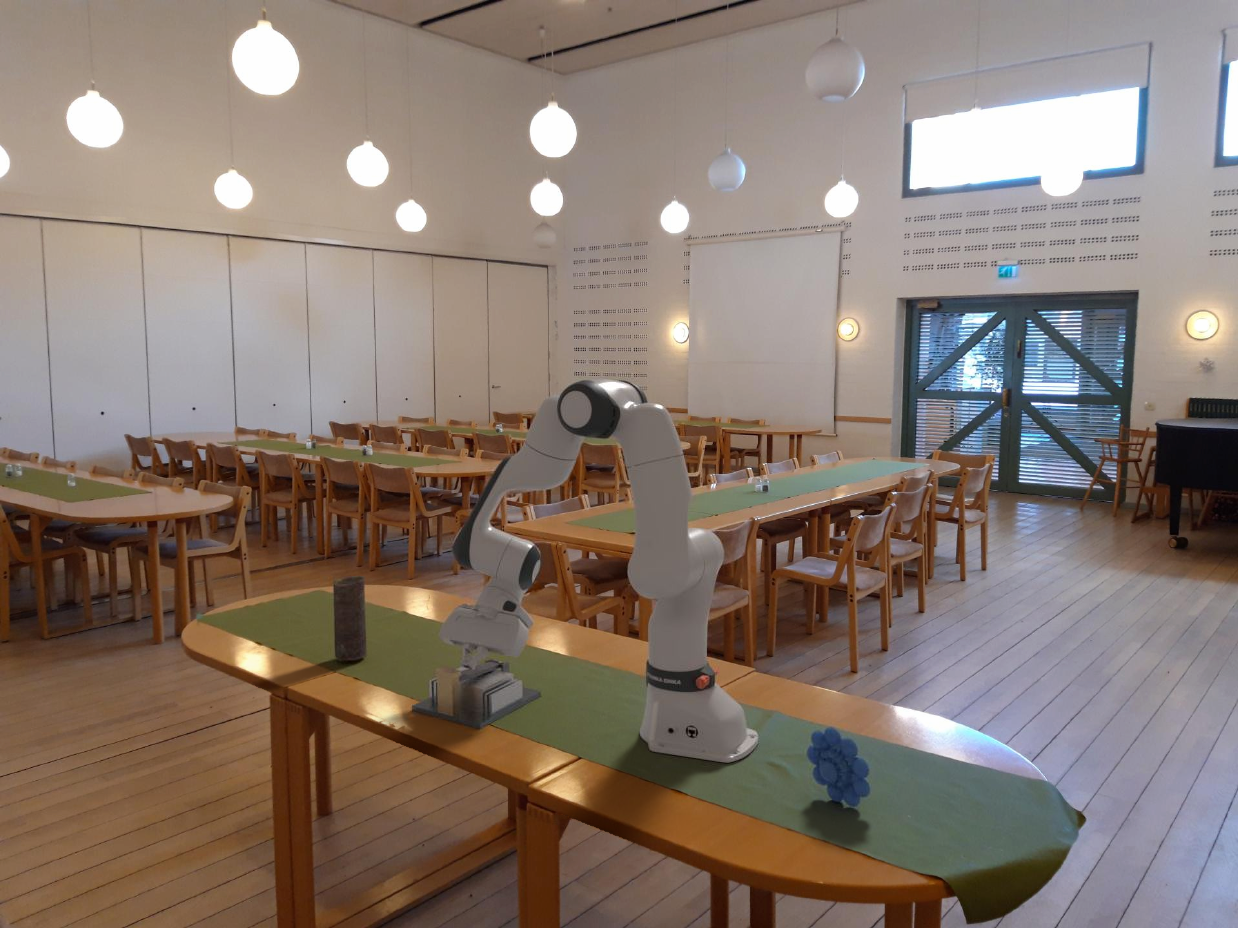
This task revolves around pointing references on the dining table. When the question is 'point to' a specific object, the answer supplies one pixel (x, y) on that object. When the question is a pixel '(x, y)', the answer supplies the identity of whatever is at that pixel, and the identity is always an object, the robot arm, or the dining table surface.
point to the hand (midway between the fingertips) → (466, 666)
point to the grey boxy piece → (474, 696)
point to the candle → (349, 618)
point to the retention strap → (480, 670)
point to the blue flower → (838, 766)
